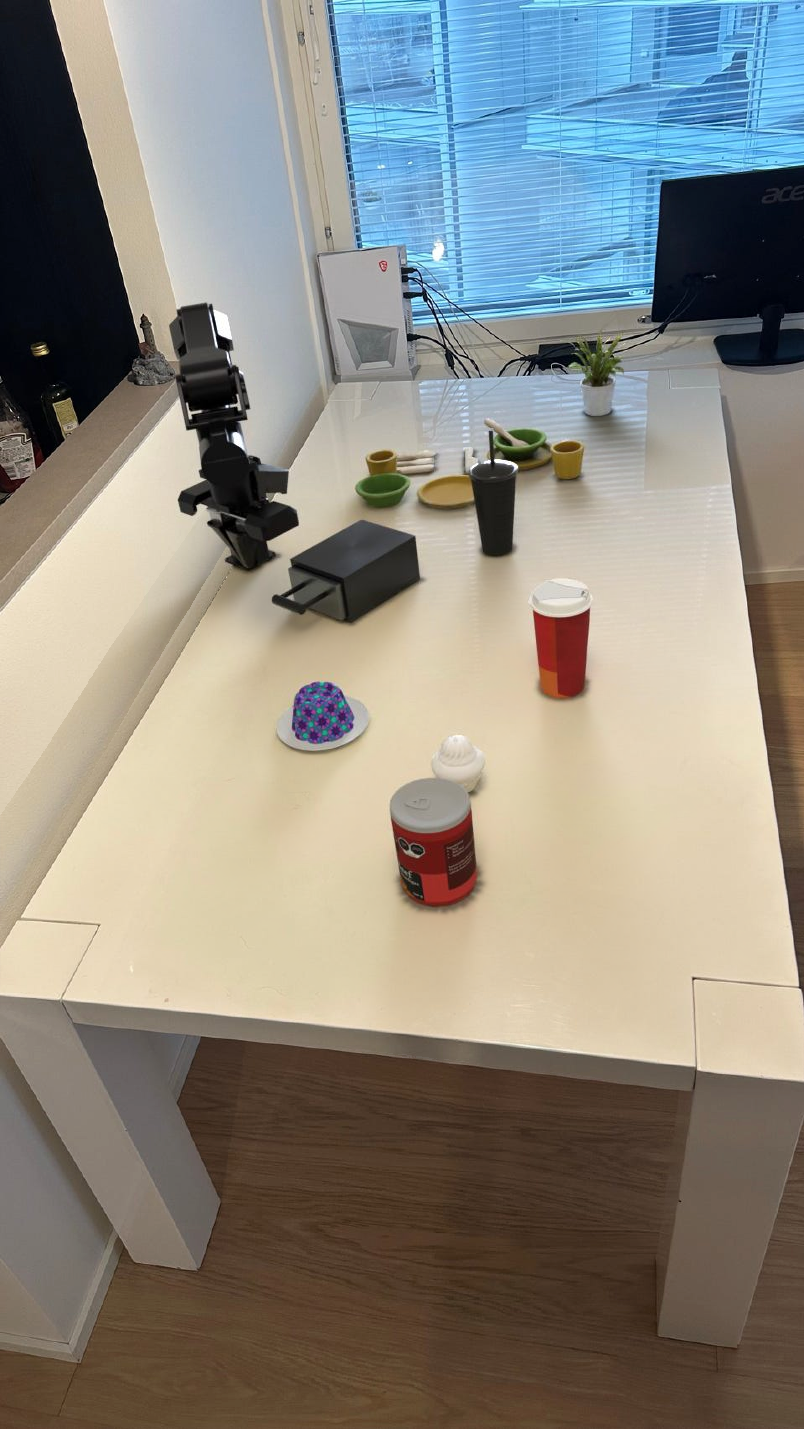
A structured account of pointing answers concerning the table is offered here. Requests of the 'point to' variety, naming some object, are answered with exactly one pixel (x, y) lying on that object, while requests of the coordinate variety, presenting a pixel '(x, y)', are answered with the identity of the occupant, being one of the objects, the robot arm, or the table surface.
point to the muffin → (458, 762)
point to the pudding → (322, 718)
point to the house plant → (598, 377)
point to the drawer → (312, 594)
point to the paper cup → (561, 635)
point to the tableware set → (457, 489)
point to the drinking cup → (494, 502)
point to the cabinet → (364, 564)
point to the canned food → (434, 840)
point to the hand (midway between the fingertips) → (249, 566)
